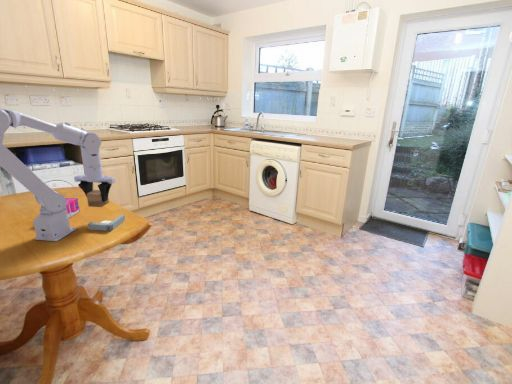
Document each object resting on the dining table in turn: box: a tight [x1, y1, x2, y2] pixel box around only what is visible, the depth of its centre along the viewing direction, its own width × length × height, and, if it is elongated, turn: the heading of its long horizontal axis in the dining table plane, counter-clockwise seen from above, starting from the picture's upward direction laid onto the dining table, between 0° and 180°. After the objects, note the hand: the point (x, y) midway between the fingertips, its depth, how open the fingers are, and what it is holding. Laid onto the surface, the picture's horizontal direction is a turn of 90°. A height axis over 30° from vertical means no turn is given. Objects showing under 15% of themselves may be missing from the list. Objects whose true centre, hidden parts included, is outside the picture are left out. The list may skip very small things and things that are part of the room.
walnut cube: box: [86, 189, 110, 208], centre depth 104 cm, size 5×5×5 cm
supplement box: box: [65, 197, 81, 220], centre depth 108 cm, size 6×6×12 cm
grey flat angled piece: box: [87, 214, 126, 232], centre depth 104 cm, size 10×8×2 cm
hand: (98, 200), depth 104 cm, fingers closed on walnut cube, 5 cm apart
